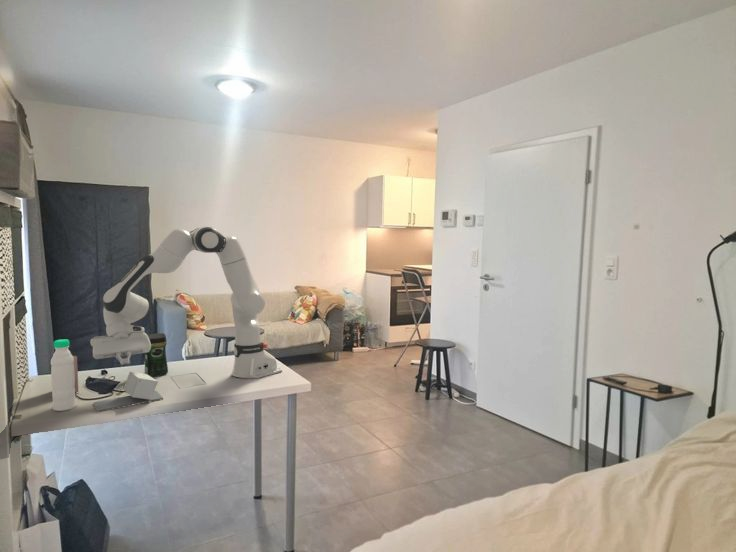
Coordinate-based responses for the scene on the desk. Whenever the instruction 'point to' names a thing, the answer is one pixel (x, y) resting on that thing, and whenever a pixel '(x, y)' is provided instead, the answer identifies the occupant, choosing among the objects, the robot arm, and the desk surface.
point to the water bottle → (63, 377)
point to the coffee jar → (156, 355)
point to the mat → (123, 402)
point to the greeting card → (75, 373)
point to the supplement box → (140, 385)
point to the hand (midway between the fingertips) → (125, 363)
